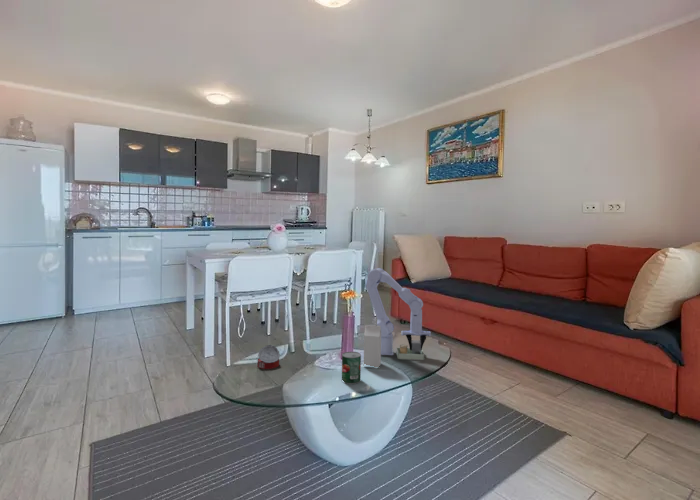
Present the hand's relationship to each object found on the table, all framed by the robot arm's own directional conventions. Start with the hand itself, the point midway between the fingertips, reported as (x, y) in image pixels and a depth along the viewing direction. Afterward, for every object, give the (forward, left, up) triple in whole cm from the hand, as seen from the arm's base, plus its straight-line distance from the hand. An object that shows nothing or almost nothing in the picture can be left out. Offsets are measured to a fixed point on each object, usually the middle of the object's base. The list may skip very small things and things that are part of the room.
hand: (415, 349), depth 184 cm
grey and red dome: (-70, -18, -4) cm, 72 cm away
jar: (-6, 0, -3) cm, 7 cm away
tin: (0, 0, -2) cm, 2 cm away
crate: (-3, 0, -4) cm, 5 cm away
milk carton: (-22, -15, -4) cm, 27 cm away
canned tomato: (-31, -33, -4) cm, 45 cm away
